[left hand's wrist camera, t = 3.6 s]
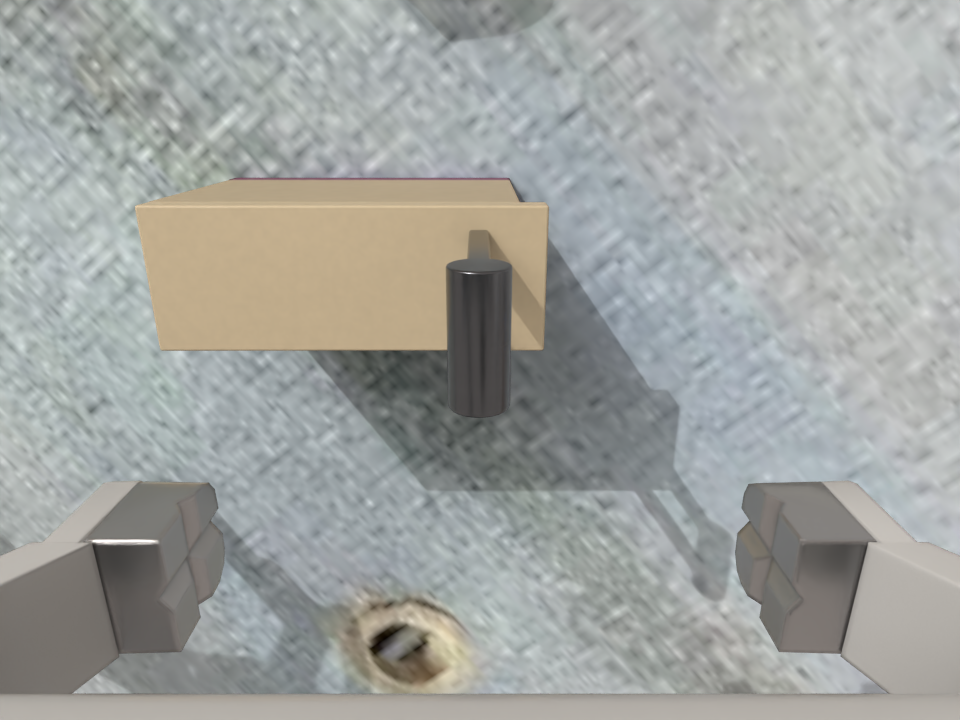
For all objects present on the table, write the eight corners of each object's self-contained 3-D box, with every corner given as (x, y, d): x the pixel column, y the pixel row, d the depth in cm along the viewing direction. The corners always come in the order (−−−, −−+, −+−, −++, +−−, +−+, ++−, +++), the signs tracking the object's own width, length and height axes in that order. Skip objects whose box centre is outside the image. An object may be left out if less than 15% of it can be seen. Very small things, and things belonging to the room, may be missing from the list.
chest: (509, 178, 33) (520, 201, 25) (507, 284, 35) (517, 342, 26) (235, 177, 33) (147, 201, 24) (249, 284, 35) (171, 342, 26)
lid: (546, 202, 24) (579, 244, 17) (541, 342, 26) (568, 441, 18) (147, 202, 24) (-13, 244, 16) (171, 342, 26) (38, 441, 18)
